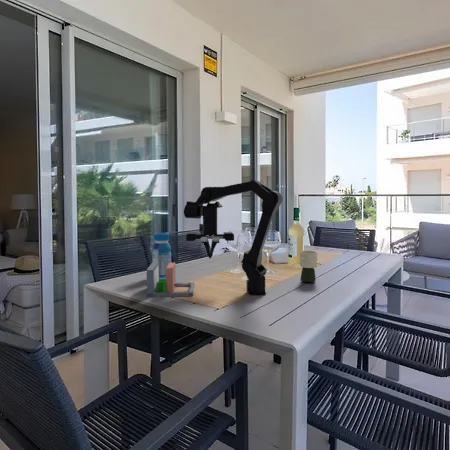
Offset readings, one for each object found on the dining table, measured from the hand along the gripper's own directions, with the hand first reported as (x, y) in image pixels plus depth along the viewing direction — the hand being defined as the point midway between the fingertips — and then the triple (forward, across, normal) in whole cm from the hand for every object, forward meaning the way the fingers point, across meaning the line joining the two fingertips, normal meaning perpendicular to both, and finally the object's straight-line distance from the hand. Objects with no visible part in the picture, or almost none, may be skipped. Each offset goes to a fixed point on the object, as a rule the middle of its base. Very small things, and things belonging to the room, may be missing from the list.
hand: (210, 258), depth 143 cm
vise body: (+12, +15, +3) cm, 20 cm away
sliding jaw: (+12, +12, +3) cm, 17 cm away
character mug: (+12, -42, -7) cm, 44 cm away
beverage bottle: (+12, +21, -18) cm, 31 cm away
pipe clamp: (+12, +18, +4) cm, 22 cm away
